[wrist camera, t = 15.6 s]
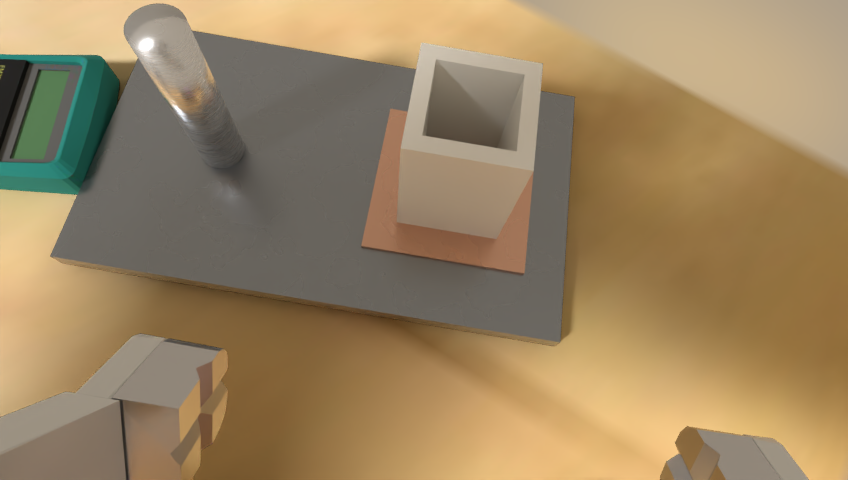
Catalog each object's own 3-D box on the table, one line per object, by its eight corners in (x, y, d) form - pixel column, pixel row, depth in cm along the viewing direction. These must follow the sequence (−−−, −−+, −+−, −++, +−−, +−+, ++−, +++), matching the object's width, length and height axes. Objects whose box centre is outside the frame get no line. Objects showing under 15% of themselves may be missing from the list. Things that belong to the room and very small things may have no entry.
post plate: (62, 263, 25) (-110, 166, 17) (160, 36, 30) (68, -130, 22) (553, 346, 26) (643, 294, 17) (568, 107, 31) (643, -29, 22)
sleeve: (396, 222, 26) (400, 148, 20) (412, 136, 28) (421, 42, 21) (496, 239, 26) (533, 170, 20) (506, 152, 28) (542, 63, 21)
